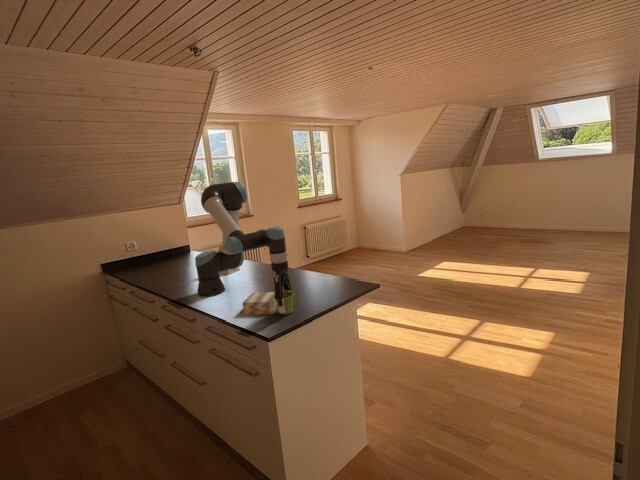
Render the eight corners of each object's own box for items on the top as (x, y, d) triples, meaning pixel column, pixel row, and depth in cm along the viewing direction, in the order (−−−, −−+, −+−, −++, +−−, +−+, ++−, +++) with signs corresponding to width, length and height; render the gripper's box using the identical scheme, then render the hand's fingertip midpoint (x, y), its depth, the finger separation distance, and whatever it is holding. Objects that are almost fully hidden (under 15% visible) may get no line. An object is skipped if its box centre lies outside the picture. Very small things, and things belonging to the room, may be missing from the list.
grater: (239, 270, 250) (235, 242, 246) (228, 274, 242) (223, 245, 238) (229, 269, 256) (224, 241, 252) (217, 273, 247) (213, 245, 243)
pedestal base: (240, 314, 170) (238, 303, 169) (252, 302, 186) (251, 291, 185) (272, 314, 167) (270, 303, 166) (282, 301, 182) (281, 290, 181)
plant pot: (276, 309, 172) (273, 292, 170) (295, 307, 173) (293, 289, 171) (275, 317, 163) (272, 299, 161) (296, 314, 163) (294, 296, 162)
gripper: (279, 267, 152) (286, 317, 156) (293, 254, 173) (299, 299, 177) (262, 268, 153) (270, 318, 158) (278, 255, 174) (284, 299, 179)
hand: (285, 308), depth 167 cm, fingers closed on plant pot, 9 cm apart
